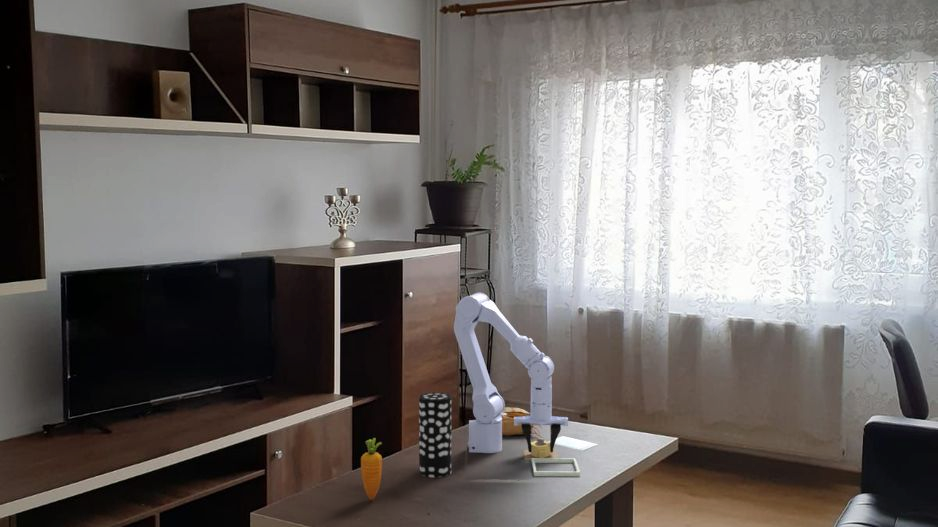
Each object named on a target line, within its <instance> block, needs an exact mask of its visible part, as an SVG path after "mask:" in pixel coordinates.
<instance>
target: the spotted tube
mask: <svg viewBox="0 0 938 527" xmlns="http://www.w3.org/2000/svg"><path fill="white" fill-rule="evenodd" d="M418 434H419V435H418V451H419V452H418V465H419V468H418V472H419V475H421V476H423V477H425V478H443V477H447V476H449V475H451V474H452V394H449V393H446V392H445V393H444V392H426V393H422V394H420V395H418Z"/></svg>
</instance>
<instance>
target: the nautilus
mask: <svg viewBox="0 0 938 527" xmlns="http://www.w3.org/2000/svg"><path fill="white" fill-rule="evenodd" d="M524 416H530V412H528V411H527V410H525V409H522V408H519V407H509V406H508V407H507V406H505V407H504V410H503V412H502V413H501V417H502V436H513V435H519V436H520V435H521V436H525V435H524V433H523V430H522V427H521V425H518V426H514V417H524ZM530 426H531V440H532V439H533V440H534V438H536V439H538V438H543V437H542V436H541V433H540V431H539V429H538V428H537V427H534V425H530ZM538 427H540V428H541V429H543V426H542V425H538ZM535 429H536V430H537V431H536V430H535ZM537 432H538V433H539V434H538V433H537ZM532 434H533V435H534V434H535V435H537V436H533V435H532Z"/></svg>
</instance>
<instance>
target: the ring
mask: <svg viewBox="0 0 938 527" xmlns="http://www.w3.org/2000/svg"><path fill="white" fill-rule="evenodd" d="M550 449H551V445H550V443H549V442H548V441H546V440H544V445H537V440H534V441H531V456H534V457H539V458H544V457H548V456H550Z"/></svg>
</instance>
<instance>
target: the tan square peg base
mask: <svg viewBox="0 0 938 527" xmlns="http://www.w3.org/2000/svg"><path fill="white" fill-rule="evenodd" d="M536 441H537V445H544V441H545V439H544V437H542V438H541V437H537V438H536ZM522 451H523V456H524V458H523V459H524V460H525V461H532V458H539V457H534V456H531V452H529V451H528V449H523V450H522ZM557 453H558V452H557V450H556V449H553V452H550V456H548V457H544V458H559V456H558V454H557Z"/></svg>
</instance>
